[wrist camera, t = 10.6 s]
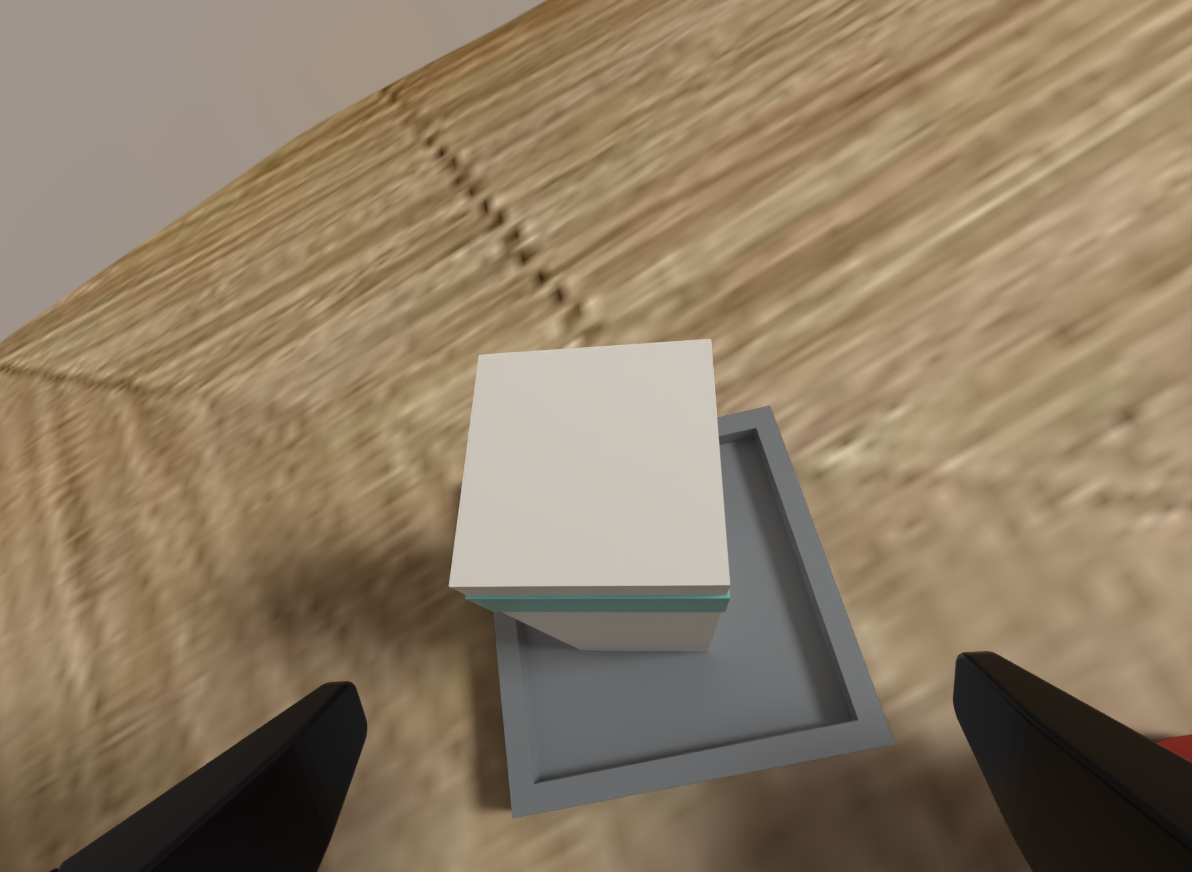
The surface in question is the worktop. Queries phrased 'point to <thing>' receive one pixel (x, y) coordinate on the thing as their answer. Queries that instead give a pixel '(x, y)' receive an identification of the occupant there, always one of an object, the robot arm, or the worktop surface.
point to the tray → (700, 665)
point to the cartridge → (597, 496)
